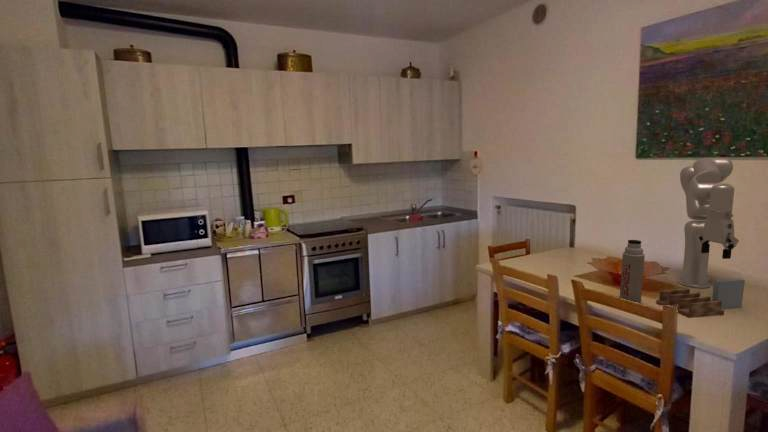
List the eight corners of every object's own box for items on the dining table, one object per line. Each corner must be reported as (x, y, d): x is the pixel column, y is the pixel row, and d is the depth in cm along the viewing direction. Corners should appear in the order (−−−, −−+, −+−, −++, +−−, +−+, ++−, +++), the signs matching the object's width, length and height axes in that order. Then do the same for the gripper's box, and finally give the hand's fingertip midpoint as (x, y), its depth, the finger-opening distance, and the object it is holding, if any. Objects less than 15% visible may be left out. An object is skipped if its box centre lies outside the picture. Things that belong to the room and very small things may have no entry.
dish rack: (688, 300, 179) (689, 288, 178) (723, 314, 163) (725, 301, 162) (656, 303, 176) (657, 291, 175) (688, 317, 161) (690, 304, 160)
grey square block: (735, 305, 172) (738, 278, 170) (741, 307, 170) (744, 279, 168) (711, 307, 170) (714, 280, 169) (716, 309, 168) (719, 281, 166)
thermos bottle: (627, 307, 172) (632, 243, 168) (615, 300, 180) (619, 239, 176) (645, 306, 173) (650, 242, 169) (632, 299, 181) (636, 238, 177)
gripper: (748, 217, 159) (743, 260, 161) (708, 211, 176) (705, 250, 178) (731, 218, 158) (726, 261, 160) (693, 212, 175) (689, 251, 177)
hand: (715, 255), depth 169 cm, fingers open, 9 cm apart
